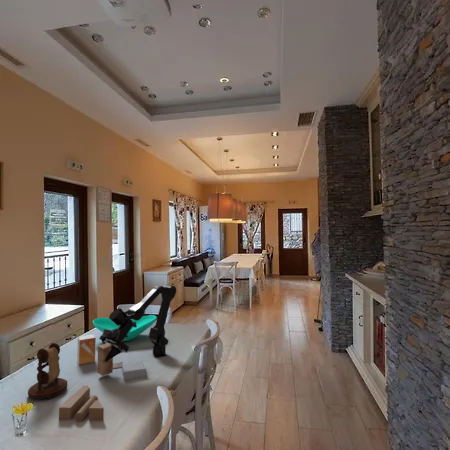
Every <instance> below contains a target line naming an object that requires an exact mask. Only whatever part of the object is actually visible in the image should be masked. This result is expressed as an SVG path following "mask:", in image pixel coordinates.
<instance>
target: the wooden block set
mask: <svg viewBox="0 0 450 450" xmlns="http://www.w3.org/2000/svg"><path fill="white" fill-rule="evenodd" d="M104 411H105V409H104V406H103V405H102V404H101V402H100V401H99V397H98V396H97V395H95V394H94V395H91V387H90V386H89V385H82V386H81V387H80V388H79V389H78V390H77V391H75V393H74V394H72V395H71V396H69V398H68V399H67V400H66V401H65V402H63V403H62V404H61V405H60V406H59V408H58V420H60V421H62V420H65V421H67V420H68V421H70V420H72V419H73V418H74V419H75V421H76V422H81V421H83V420H84V419H85V417H86V416H87V415H88V421H100V422H101V421H103V422H104V417H105V416H104V414H105V412H104Z"/></svg>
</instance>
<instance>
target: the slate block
mask: <svg viewBox="0 0 450 450" xmlns="http://www.w3.org/2000/svg"><path fill="white" fill-rule="evenodd" d="M146 369H147V368H146V366H145V362H144V360H138V361H132V362H126V363H125V362H123V364H122V368H121V371H122V377H123V381H126V380H131V379H137V378H143V377H146Z"/></svg>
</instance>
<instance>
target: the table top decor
mask: <svg viewBox="0 0 450 450" xmlns="http://www.w3.org/2000/svg"><path fill="white" fill-rule="evenodd" d="M157 317H158V316H156V315H154V314H152V315H150V314H149V315H143V316H142V318H141V319H140V320H137V321H136V320H133V319H131V320H132V321H134V322H136V325H137V327H136V328H135V327H132V328H131V330H130V331H129V333H128V334H127V336H128V337H127V338H126V337H125V338H124V340H123V341H122V342H129V341H132V340H133V339H135V338H136V337H138V336H139V335H141V334H142V333H144V332H145V331H147V330H148V329H150V328H151V327H152V326H153V324H155V323H156V321H157ZM92 325H93V326H94V327H95V328H96V329H97V330H98V331H100V332H102V333H103V331H104V329H109V330H113V329H118V327H119V326H120V325H119V326H117V325H116V324H115V323H114V322H113V321H111V320H110V319H109V317H98V318H97V317H96V318H94V319H93V320H92Z"/></svg>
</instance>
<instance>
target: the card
mask: <svg viewBox="0 0 450 450" xmlns="http://www.w3.org/2000/svg"><path fill="white" fill-rule="evenodd" d="M123 363H124V361H121V362H115V363H113V370H115V369H116V370H117V369H122V364H123Z"/></svg>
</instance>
